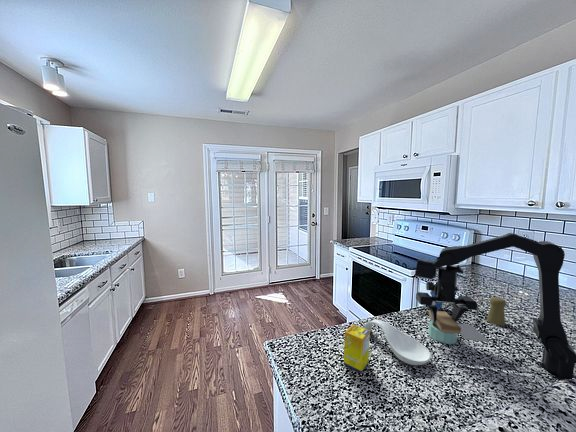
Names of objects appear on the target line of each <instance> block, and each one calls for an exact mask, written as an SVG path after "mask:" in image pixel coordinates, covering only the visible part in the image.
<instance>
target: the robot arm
mask: <svg viewBox="0 0 576 432" xmlns="http://www.w3.org/2000/svg"><path fill="white" fill-rule="evenodd" d="M507 248H509V249H510V248H516V249H518V250H521V251H523V252H526V253H528V254H531V255H532V256H533V259H534V262H535V263H534V264H535V266H536V267H537V271H538V286H539V307H540V315H539V316H538V318H537V317H532V322H533V327H532V331H533V333H534V334H535V336H536V338H537V339H539V341H540V343H541V344H542V346H543V347H544V348H543V350H542V351H543V352H542V357H541V362H540V361H536V364H538V365H539V366H540V367H541V368H543V369H544V370H545V371H546V372H547V373H548V374H549V375H551V377H552V378H554V379H559V380H565V379H572V378H575V377H576V376H575V375H574V371H575V364H576V351H575V350H574V348H573V347H572V346H571V345H570V344H569V340H568V337H567V334H566V331H565V329H564V327H563V326H564V325H563V322H562V321H561V306H560V304H561V303H560V301H561V300H560V281H559V279H560V277H559V275H560V272H561V269H562V267H563V264H564V260H565V251H564V249H563V248H562V247H561V246H560V245H557V244H555V243H554V242H550V241H547V240H541V241H537V240H534V239H531V238H528V237H524V236H522V235H519V234H517V233H515V232H508V233H506V234H503V235H500V236H497V237H493V238H490V239H486V240H482V241H478V242H474V243H472V244H467V245H458V246H457V245H456V246H448V247H444V248H442V249H441V251H440V253H439V256H437V257H436V258H435V259H434V261H429V260H423V259H420V258H418V259H417V262H416V266H415V267H416V268H415V270H414V271H415V272H414V275H415V277H417V278H421V279H427V280H433V279H434V278H437V281H435V284H434V283H433V282H431V281H430V282H429V281H426V284H425V289H426V291H431V293H434V295H436V296H437V297H433V296H431V294H430V293H428V292H423V291H422V292H421V291H418V292H417V293H415V300H416V301H417V302H418V303H419V304H420V305H421V306H426V307H428V309H429V310H430V311H431V315H432V318H433V320H432V321H434V322H436V318H437V311H438V310H437V306H436V305H435V302H439V303H445V304H450V305H451V304H452V307H453V308H452V315H451V318H452V319H453V320H454V321H455V322H456V323H457V322H458V321H459V319H460V318H461V317H462V316H463V315H464V314H465V313H466V312H469V310H471V311H478V309H479V304H478V302H477V301H476V300H474V299H473V298H472V297H470V296H468V295H467V296H466V295H465V296H464V295H459V296H457V298H456V292H458V290H459V289H458V287H457V279H458V274H464V273H465V272H464V271H465V270H464V269H463V268H462V267H461V266H460V263H462V262H464V261H466V260H468V259H470V258H472V257H476V256H480V255H485V254H488V253H492V252H496V251H500V250H505V249H507ZM437 270H438V273H437ZM437 274H438V275H437ZM575 379H576V378H575Z"/></svg>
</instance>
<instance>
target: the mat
mask: <svg viewBox="0 0 576 432" xmlns="http://www.w3.org/2000/svg"><path fill="white" fill-rule="evenodd" d="M456 323H457V322H456ZM457 324H458V325H459V326H460V327H461V333H460V334H459V335H460V336H461V337H462V338H463V339H464V340H467V341H468V340H469V341H475V342H476V341H477V342H482V343H483V342H484V343H490V341H489V340H488V339H487V338H486V337H485V336H484V335H483V334H482V333H481V332H480V331H478V329H476V327H475V326H473V325H472V324H468V323H467V324H465V323H457Z"/></svg>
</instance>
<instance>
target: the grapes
mask: <svg viewBox="0 0 576 432" xmlns="http://www.w3.org/2000/svg"><path fill="white" fill-rule="evenodd" d="M429 295H430V296H433V297H437V296H436V295H434V293H431V290H429ZM442 304H443V305H444V304H446V303H439V302H435V305H436V306H437V311H440V309H443V305H442Z"/></svg>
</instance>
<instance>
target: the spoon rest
mask: <svg viewBox="0 0 576 432" xmlns="http://www.w3.org/2000/svg"><path fill="white" fill-rule="evenodd" d="M374 325H375V326H378V327H380V329H381V330H382V332H383V334H384V336H385V338H386V340H387V342H388V345H389V347H390V349H391V351H392V352H393V354H394V355H395V357H396V358H397V359H399V360H400V361H402V362H403V363H406V364H408V365H410V366H411V365H412V366H422V365H425V364H427V363H428V362H430V360H431V358H432V354H431V352H430V350H429V349H428V348H427V347H426V346H425V345H424V344H423V343H421V342H420V341H418V340H417V339H415V338H413V337H411V336H410V335H408V334H406V333H404V332H402V331H401V330H399V329H397V328H396V327H394V326H393V325H391V324H389V323H387V322H385V321H384V320H380V319H373V320H371V321H368V322H365V324H364V325H363V327H362V328H364V329H367V330H370V333H371V332H372V327H373V326H374Z"/></svg>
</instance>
